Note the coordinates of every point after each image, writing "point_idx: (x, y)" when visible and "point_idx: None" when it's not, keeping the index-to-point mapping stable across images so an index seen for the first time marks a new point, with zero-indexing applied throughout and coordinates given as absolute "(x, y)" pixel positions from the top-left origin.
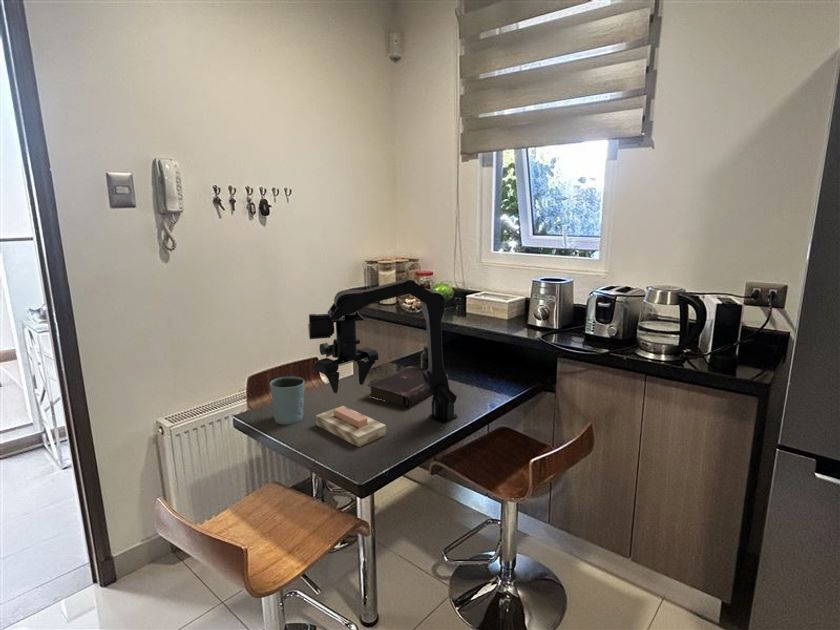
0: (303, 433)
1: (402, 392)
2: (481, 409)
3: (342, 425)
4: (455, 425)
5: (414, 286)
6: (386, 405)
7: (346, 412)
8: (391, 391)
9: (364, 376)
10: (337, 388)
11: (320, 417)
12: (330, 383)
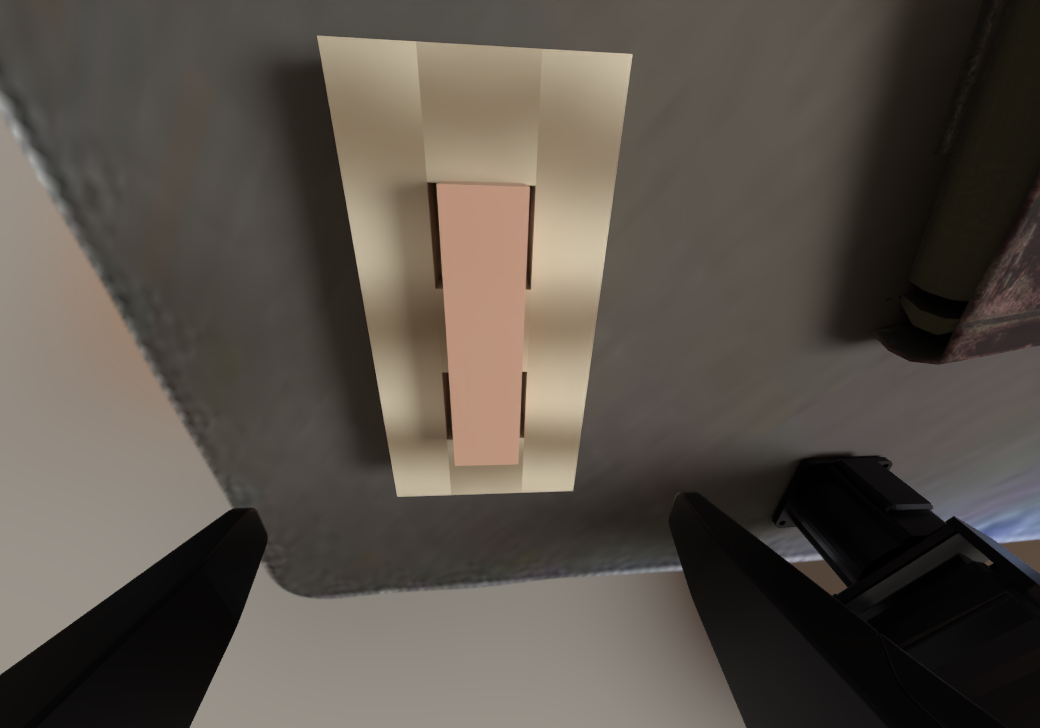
0: (205, 113)
1: (1026, 285)
2: None
3: (403, 356)
4: (773, 546)
5: None
6: (879, 201)
7: (479, 319)
8: (1035, 209)
9: (733, 693)
10: (216, 644)
11: (334, 117)
12: (23, 684)
